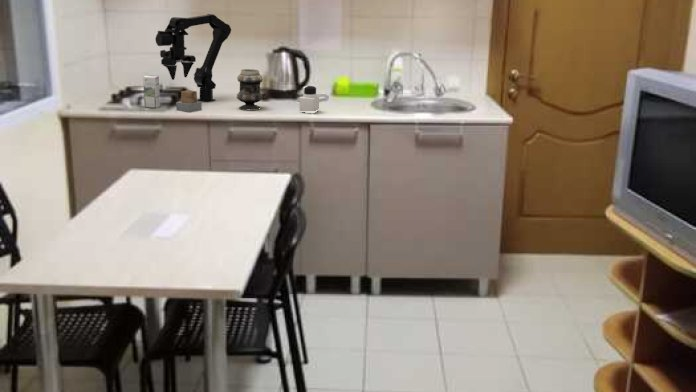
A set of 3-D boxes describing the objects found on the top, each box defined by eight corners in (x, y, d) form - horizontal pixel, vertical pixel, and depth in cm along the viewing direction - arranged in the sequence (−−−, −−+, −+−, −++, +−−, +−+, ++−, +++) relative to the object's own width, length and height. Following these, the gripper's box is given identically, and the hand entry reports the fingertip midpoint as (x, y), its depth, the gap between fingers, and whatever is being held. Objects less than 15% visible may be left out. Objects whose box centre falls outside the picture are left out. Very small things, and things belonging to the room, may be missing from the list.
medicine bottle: (319, 111, 348) (319, 86, 345) (313, 114, 342) (314, 88, 338) (305, 110, 351) (305, 84, 347) (299, 112, 344) (299, 86, 341)
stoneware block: (189, 108, 346) (188, 99, 345) (201, 110, 342) (201, 102, 341) (176, 110, 340) (176, 102, 339) (189, 113, 336) (188, 104, 334)
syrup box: (160, 106, 347) (159, 75, 343) (156, 108, 342) (154, 76, 337) (148, 105, 348) (147, 74, 343) (144, 107, 342) (142, 76, 338)
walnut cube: (187, 100, 343) (187, 90, 341) (197, 101, 341) (196, 91, 339) (181, 102, 338) (181, 91, 337) (190, 103, 337) (190, 92, 335)
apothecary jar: (268, 108, 350) (268, 70, 345) (248, 111, 342) (247, 72, 336) (251, 104, 358) (251, 67, 352) (231, 107, 349) (231, 69, 344)
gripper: (177, 42, 358) (178, 74, 362) (151, 45, 342) (152, 79, 346) (195, 44, 353) (196, 76, 358) (170, 47, 337) (171, 81, 342)
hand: (179, 78), depth 351 cm, fingers open, 9 cm apart
